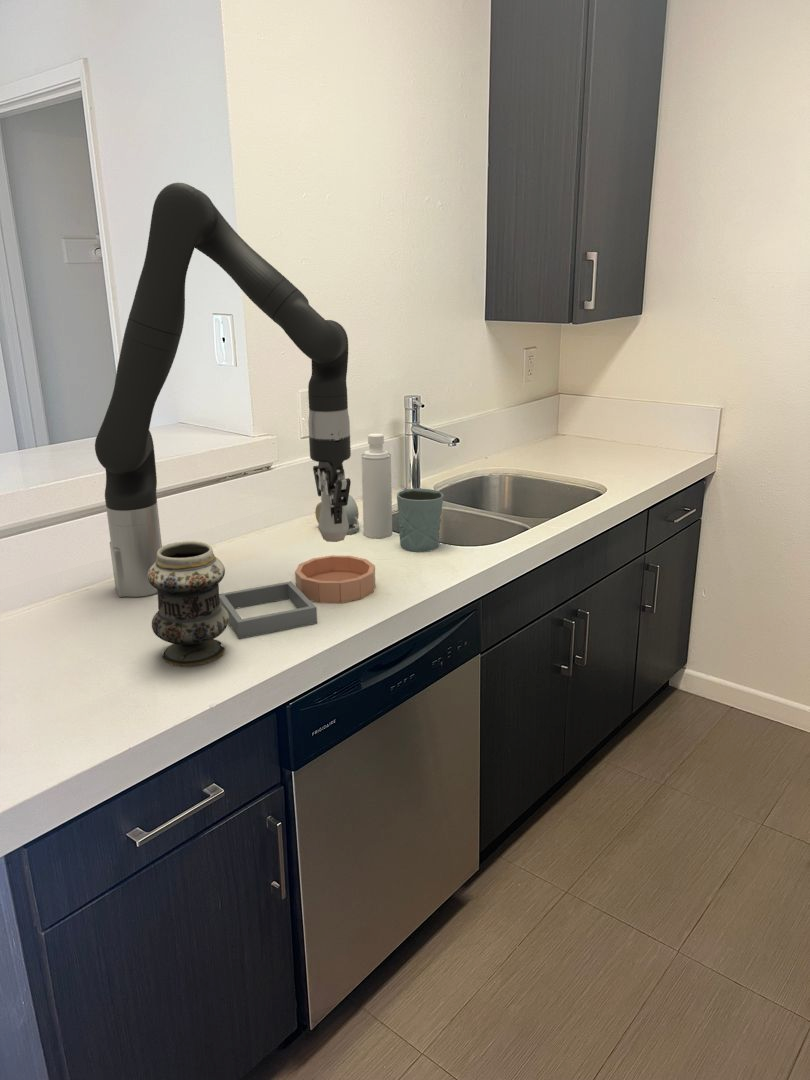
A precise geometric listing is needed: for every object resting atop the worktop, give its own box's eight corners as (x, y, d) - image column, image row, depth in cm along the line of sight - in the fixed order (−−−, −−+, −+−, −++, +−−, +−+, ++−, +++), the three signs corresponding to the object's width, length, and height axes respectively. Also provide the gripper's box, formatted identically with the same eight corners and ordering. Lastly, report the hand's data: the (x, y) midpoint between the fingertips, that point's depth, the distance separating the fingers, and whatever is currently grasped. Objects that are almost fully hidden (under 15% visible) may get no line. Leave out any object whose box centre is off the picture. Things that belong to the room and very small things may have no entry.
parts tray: (239, 638, 139) (237, 622, 138) (218, 609, 151) (217, 594, 150) (317, 623, 145) (316, 607, 144) (291, 595, 157) (291, 581, 156)
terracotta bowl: (312, 608, 151) (311, 588, 150) (287, 581, 164) (285, 562, 163) (387, 594, 157) (386, 574, 156) (356, 569, 170) (356, 551, 169)
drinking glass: (388, 544, 185) (387, 493, 181) (423, 535, 191) (423, 485, 187) (416, 556, 178) (416, 502, 174) (452, 546, 183) (452, 494, 179)
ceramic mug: (313, 527, 198) (312, 496, 195) (340, 520, 203) (340, 490, 200) (340, 538, 190) (339, 506, 188) (367, 531, 195) (367, 499, 193)
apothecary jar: (243, 657, 133) (234, 552, 127) (169, 677, 126) (156, 567, 121) (216, 631, 142) (207, 532, 137) (146, 648, 136) (133, 545, 130)
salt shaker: (344, 544, 154) (342, 476, 150) (315, 542, 155) (311, 475, 151) (352, 534, 160) (350, 469, 156) (324, 533, 161) (321, 468, 157)
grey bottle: (369, 528, 196) (367, 424, 189) (396, 531, 194) (394, 425, 186) (359, 536, 191) (356, 429, 183) (386, 539, 188) (384, 431, 180)
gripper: (297, 428, 156) (302, 516, 161) (323, 442, 144) (327, 536, 149) (334, 425, 159) (338, 511, 164) (363, 438, 147) (366, 530, 152)
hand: (333, 522), depth 157 cm, fingers closed on salt shaker, 3 cm apart
